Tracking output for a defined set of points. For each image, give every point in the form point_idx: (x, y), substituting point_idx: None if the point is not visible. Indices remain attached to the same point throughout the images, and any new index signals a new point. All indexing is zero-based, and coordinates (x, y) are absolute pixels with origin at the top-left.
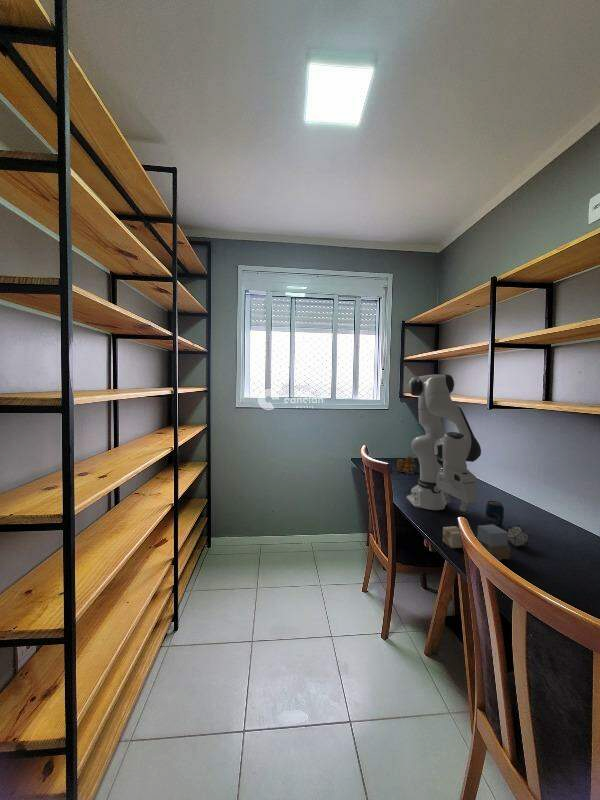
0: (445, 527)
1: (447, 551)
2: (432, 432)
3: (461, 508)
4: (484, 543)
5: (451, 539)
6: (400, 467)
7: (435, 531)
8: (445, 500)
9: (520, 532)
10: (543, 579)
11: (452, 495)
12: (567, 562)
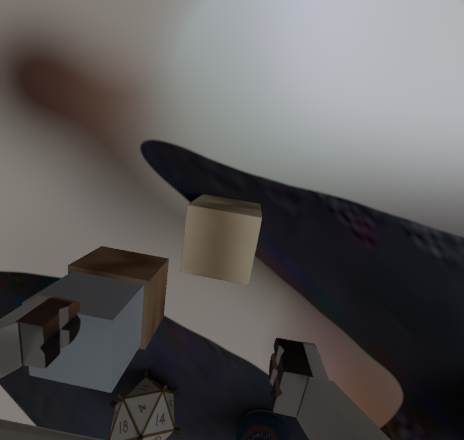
0: (254, 227)
1: (188, 158)
2: None
3: (31, 306)
4: (102, 273)
5: (199, 199)
6: None
7: (337, 239)
8: (303, 353)
9: (111, 434)
10: (7, 292)
11: (61, 435)
12: (64, 408)
